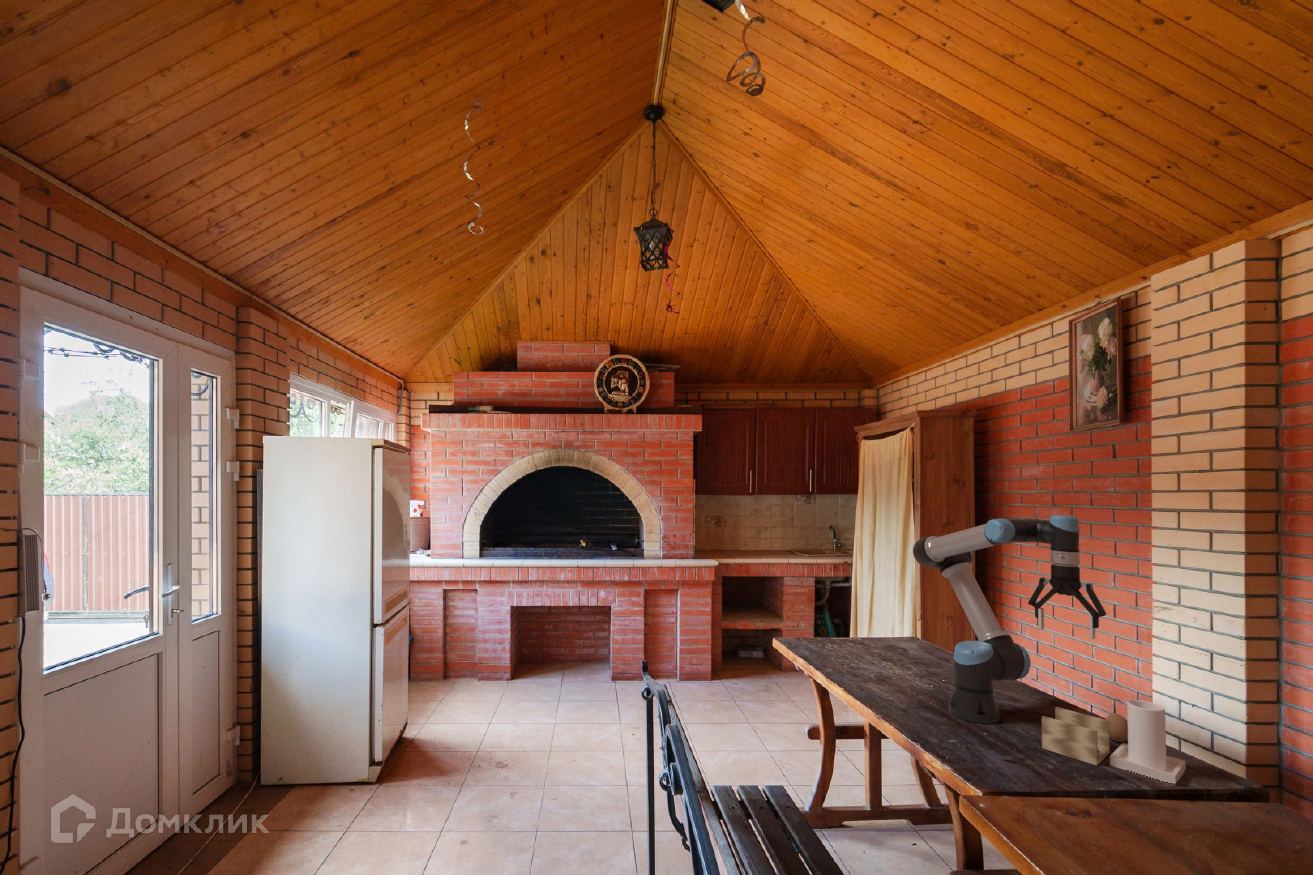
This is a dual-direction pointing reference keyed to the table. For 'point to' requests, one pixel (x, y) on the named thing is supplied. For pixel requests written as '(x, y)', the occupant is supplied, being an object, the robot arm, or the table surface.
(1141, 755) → the cup
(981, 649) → the robot arm
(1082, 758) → the holder
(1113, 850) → the table surface
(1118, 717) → the egg
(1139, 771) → the tray
